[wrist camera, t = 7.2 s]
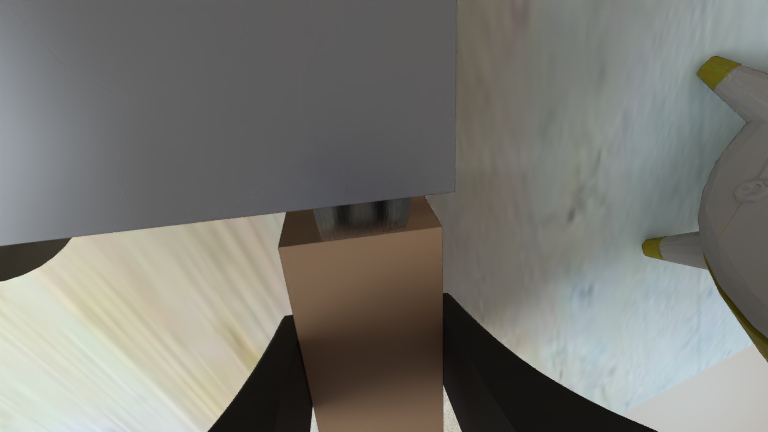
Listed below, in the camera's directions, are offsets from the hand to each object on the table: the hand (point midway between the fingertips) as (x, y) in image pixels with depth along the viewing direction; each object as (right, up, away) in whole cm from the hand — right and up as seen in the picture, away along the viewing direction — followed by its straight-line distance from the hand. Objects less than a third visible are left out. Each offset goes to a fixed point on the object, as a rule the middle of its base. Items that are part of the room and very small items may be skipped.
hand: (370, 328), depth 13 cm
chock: (0, +1, +2) cm, 2 cm away
